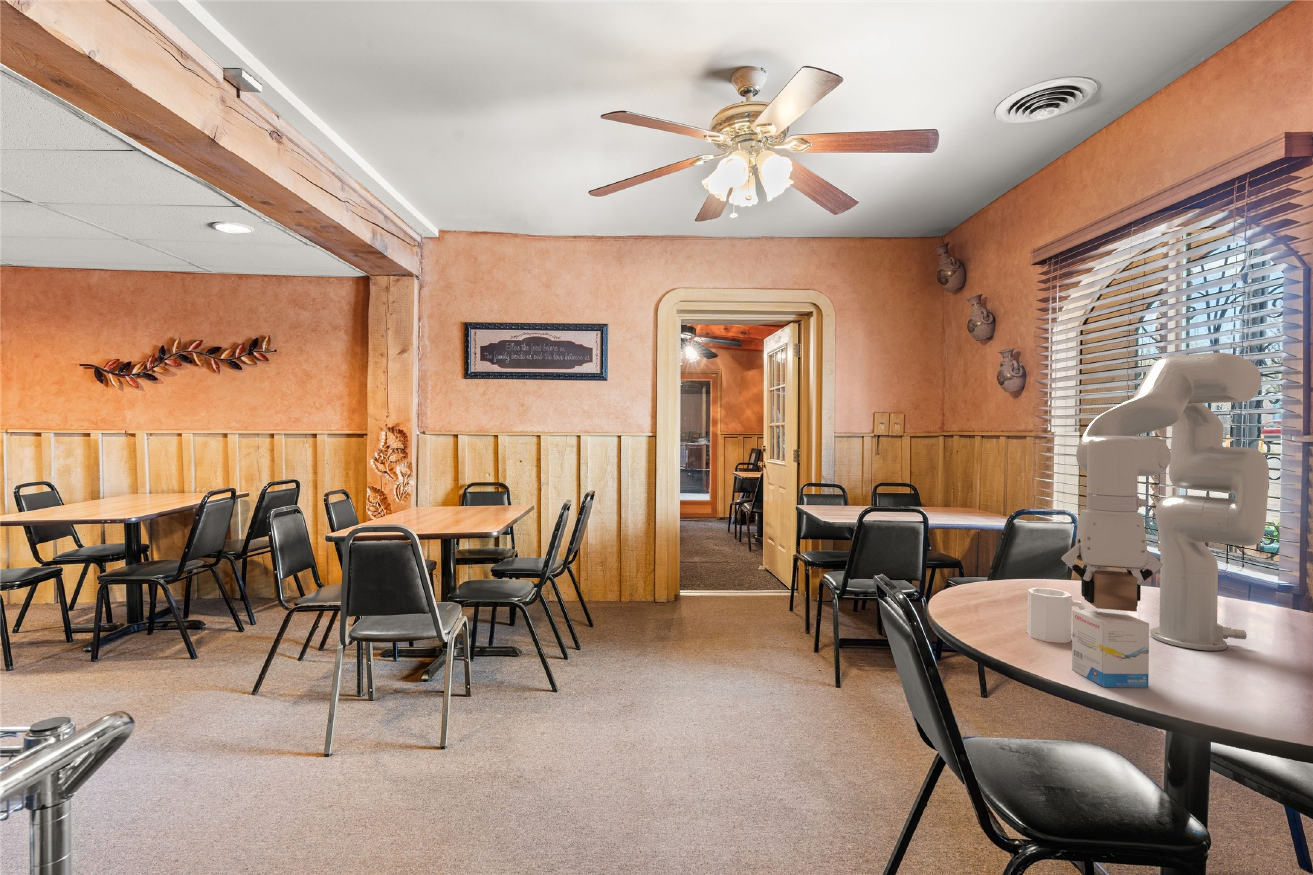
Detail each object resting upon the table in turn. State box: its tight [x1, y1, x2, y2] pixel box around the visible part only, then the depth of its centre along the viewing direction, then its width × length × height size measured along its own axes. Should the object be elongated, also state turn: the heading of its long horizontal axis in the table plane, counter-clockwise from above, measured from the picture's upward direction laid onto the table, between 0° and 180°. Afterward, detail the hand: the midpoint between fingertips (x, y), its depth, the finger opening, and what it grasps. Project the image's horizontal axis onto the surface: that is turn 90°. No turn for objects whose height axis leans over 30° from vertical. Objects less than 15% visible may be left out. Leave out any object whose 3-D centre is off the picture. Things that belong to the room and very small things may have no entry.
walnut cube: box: [1089, 568, 1138, 613], centre depth 114 cm, size 6×6×6 cm
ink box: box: [1071, 608, 1150, 689], centre depth 114 cm, size 9×8×12 cm
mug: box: [1026, 587, 1088, 644], centre depth 137 cm, size 12×9×10 cm
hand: (1110, 601), depth 114 cm, fingers closed on walnut cube, 6 cm apart
